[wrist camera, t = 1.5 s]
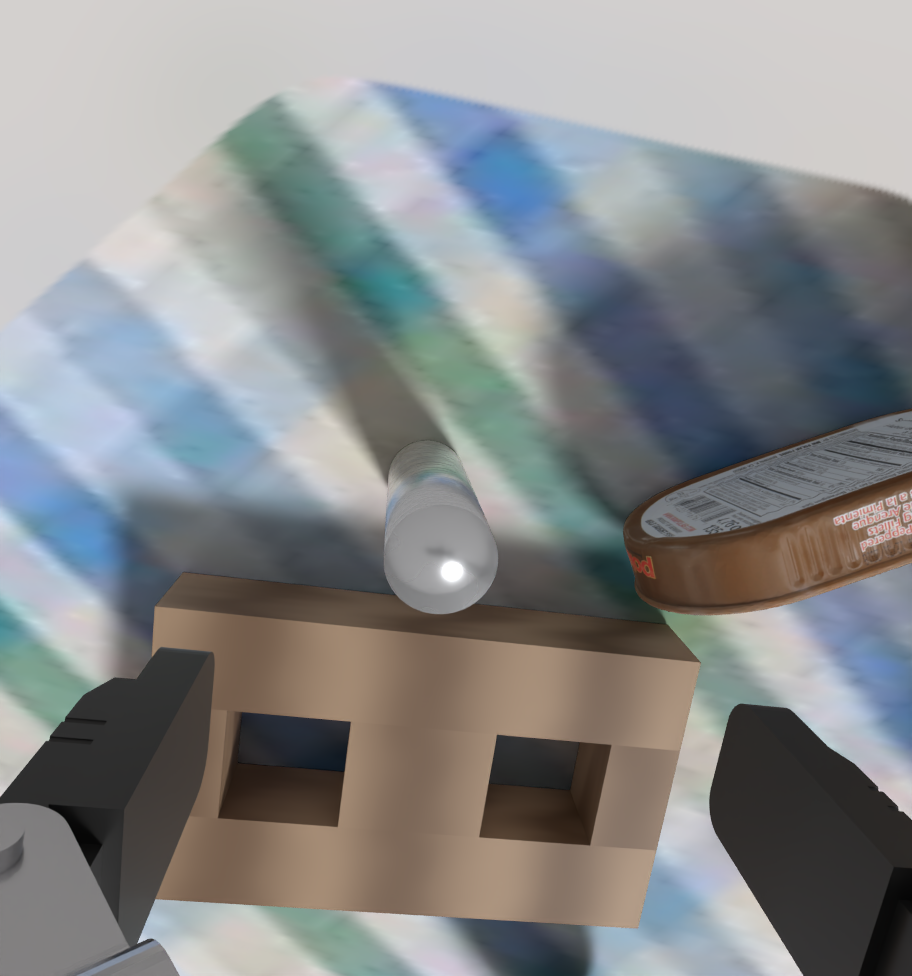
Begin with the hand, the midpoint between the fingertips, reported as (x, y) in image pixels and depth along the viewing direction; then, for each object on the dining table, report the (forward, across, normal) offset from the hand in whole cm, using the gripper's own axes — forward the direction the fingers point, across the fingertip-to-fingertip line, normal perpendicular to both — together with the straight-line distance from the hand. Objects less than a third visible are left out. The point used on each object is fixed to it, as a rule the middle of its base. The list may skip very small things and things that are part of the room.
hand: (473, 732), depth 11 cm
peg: (+18, 0, 0) cm, 18 cm away
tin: (+18, -14, -2) cm, 23 cm away
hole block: (+18, -1, +11) cm, 21 cm away
